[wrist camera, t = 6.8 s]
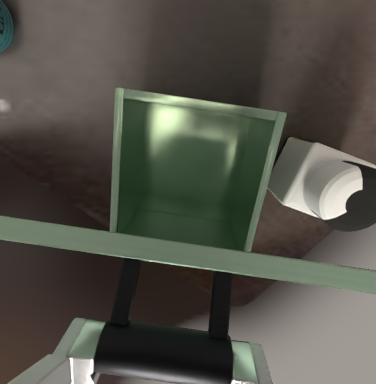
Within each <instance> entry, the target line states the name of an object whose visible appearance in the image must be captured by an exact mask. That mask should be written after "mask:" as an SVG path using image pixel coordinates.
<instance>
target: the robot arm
mask: <svg viewBox="0 0 376 384" xmlns="http://www.w3.org/2000/svg"><path fill="white" fill-rule="evenodd" d="M105 323H106V322H100V321H95V320H89V319H82V318H75V319H74V320H73V321H72V323H71V324H70V326H69V328H68V329H67V331H66V333H65V334H64V336H63V338H62V339H61V341H60V343H59V344H58V346H57V348H56V349H55V351H54V353H53V354H52V355H50V354H48V355H47V356H46V357H44V358H43V359H41V360H40V361H38V362H37V363H36V364H34V365H33V366H31V367H30V368H29V369H28V370H26V371H24V372H23V373H22V374H20V375H19V376H17V377H16V378H15V379H13V380H12V381H10V382H9V383H8V384H96V383H97V380H98V378H99V375H100V373H97V372H95V371H94V358H95V351H96V347H97V343H98V340H99V337H100V334H101V331H102V329H103V327H104V325H105ZM231 342H232V348H233V375H232V381H231V384H273V383H272V380H271V376H270V373H269V369H268V366H267V362H266V358H265V355H264V351H263V348H262V346H261V345H260V344H256V343H248V342H243V341H236V340H231Z"/></svg>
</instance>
